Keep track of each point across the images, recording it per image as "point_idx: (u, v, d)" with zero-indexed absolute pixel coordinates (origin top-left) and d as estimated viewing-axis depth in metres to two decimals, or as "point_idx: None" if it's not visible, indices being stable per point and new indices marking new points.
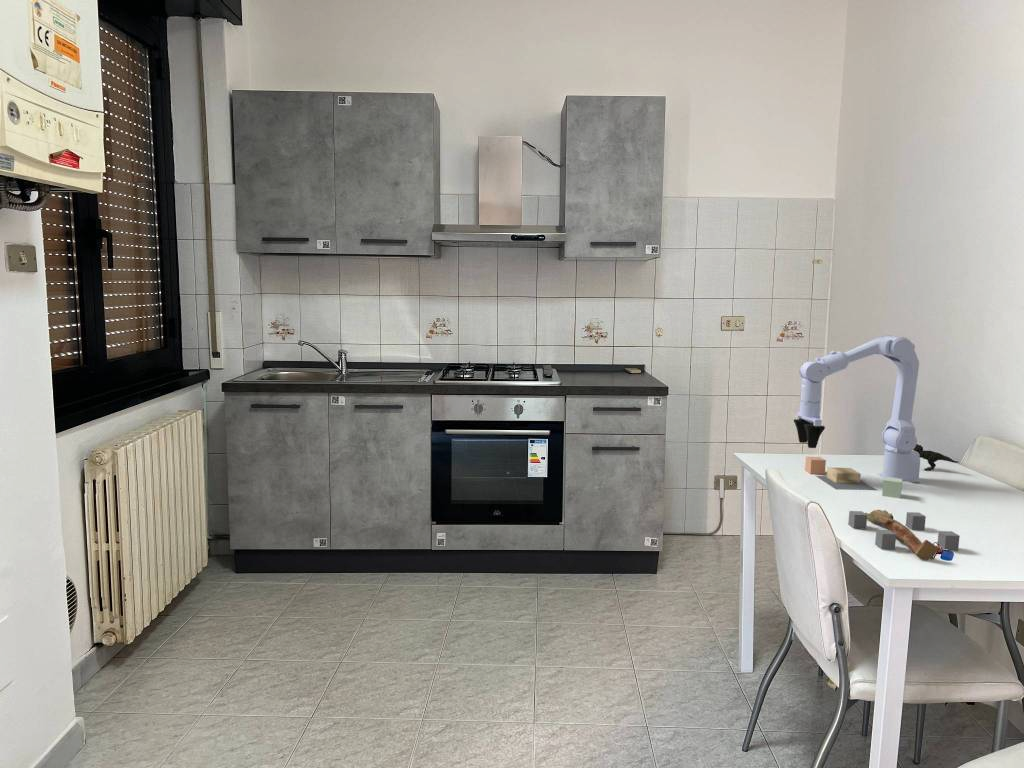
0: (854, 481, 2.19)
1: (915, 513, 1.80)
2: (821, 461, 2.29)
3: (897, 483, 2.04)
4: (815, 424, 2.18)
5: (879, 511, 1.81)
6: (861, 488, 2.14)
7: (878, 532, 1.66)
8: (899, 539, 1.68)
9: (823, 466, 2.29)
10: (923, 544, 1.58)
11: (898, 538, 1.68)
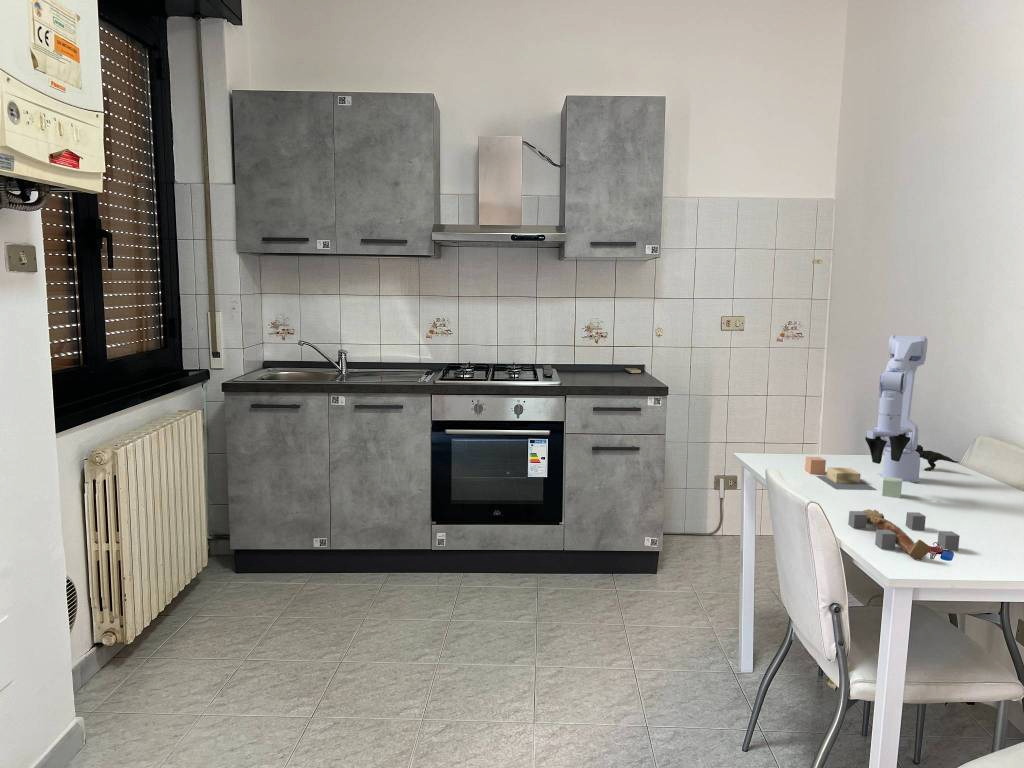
0: (854, 481, 2.19)
1: (915, 513, 1.80)
2: (821, 461, 2.29)
3: (897, 483, 2.04)
4: (867, 436, 2.05)
5: (870, 511, 1.81)
6: (861, 488, 2.14)
7: (878, 532, 1.66)
8: None
9: (823, 466, 2.29)
10: (916, 544, 1.58)
11: None
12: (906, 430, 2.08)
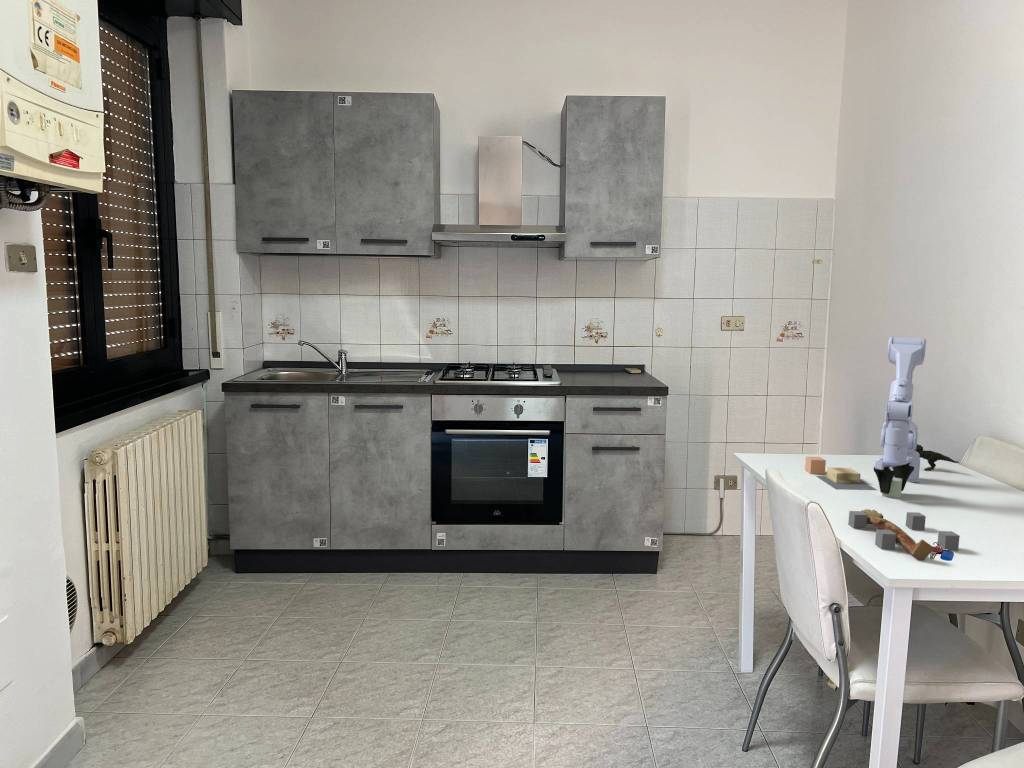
0: (854, 481, 2.19)
1: (915, 513, 1.80)
2: (821, 461, 2.29)
3: (897, 483, 2.04)
4: (875, 466, 2.03)
5: (868, 511, 1.81)
6: (861, 488, 2.14)
7: (878, 532, 1.66)
8: None
9: (823, 466, 2.29)
10: (919, 544, 1.58)
11: None
12: (910, 459, 2.08)
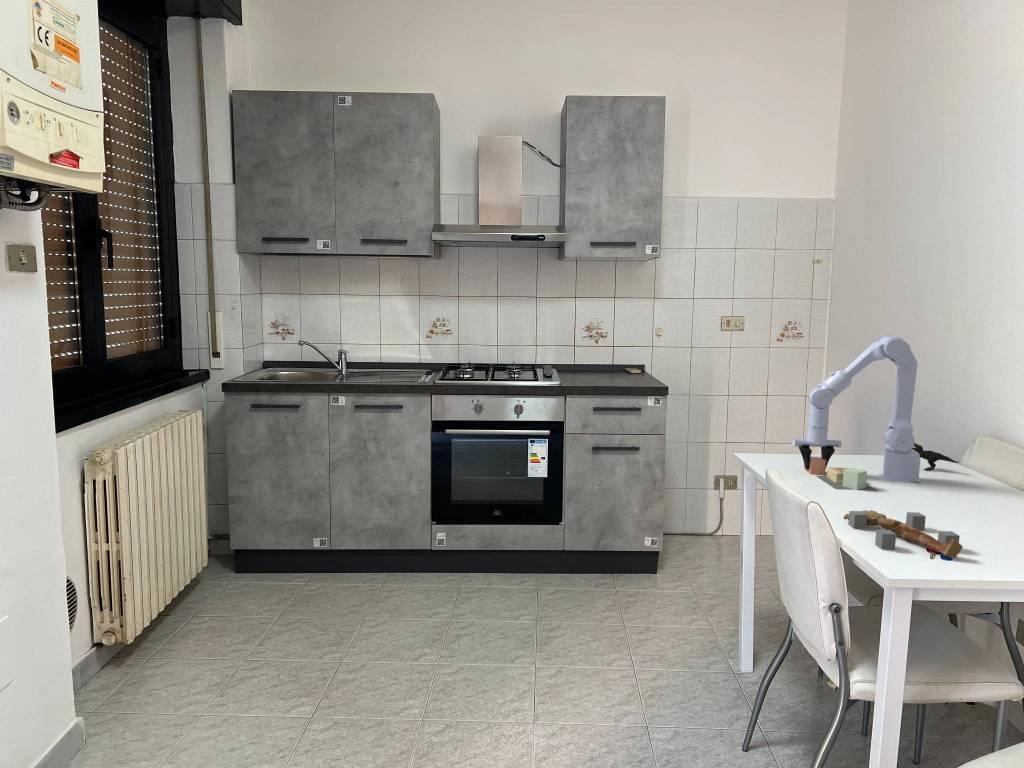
0: None
1: (915, 513, 1.80)
2: (821, 461, 2.29)
3: (854, 473, 2.12)
4: (792, 444, 2.31)
5: (868, 512, 1.81)
6: None
7: (878, 532, 1.66)
8: (910, 540, 1.68)
9: (823, 466, 2.29)
10: (951, 544, 1.59)
11: (910, 538, 1.68)
12: (837, 442, 2.29)
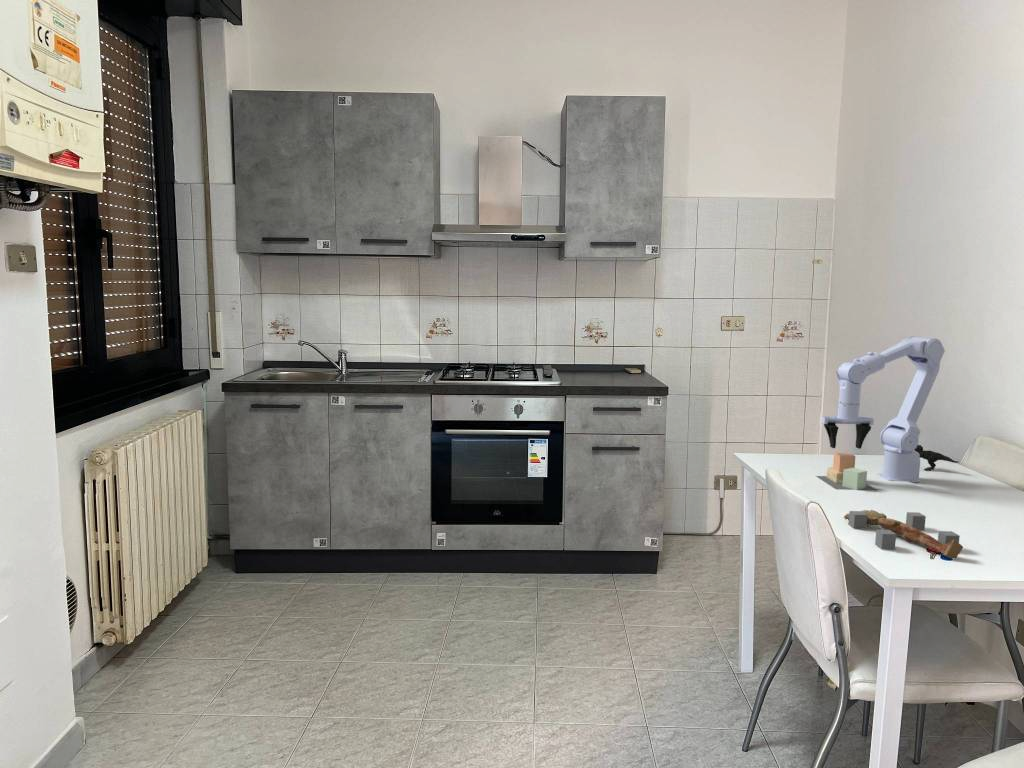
0: None
1: (915, 513, 1.80)
2: (850, 457, 2.20)
3: (854, 473, 2.12)
4: (822, 421, 2.21)
5: (869, 512, 1.81)
6: None
7: (878, 532, 1.66)
8: (911, 540, 1.68)
9: (852, 462, 2.20)
10: (952, 544, 1.59)
11: (910, 539, 1.68)
12: (869, 419, 2.19)
